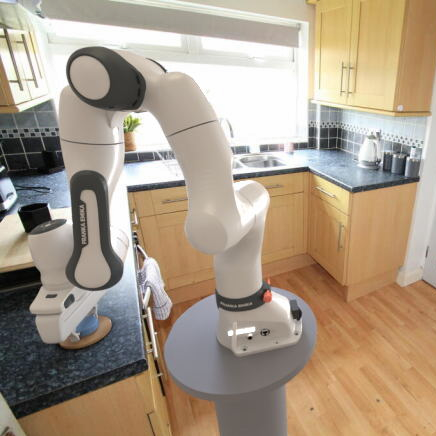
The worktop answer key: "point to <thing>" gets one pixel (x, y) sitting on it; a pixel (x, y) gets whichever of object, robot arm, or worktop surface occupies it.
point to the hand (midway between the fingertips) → (85, 329)
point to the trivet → (90, 335)
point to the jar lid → (87, 325)
